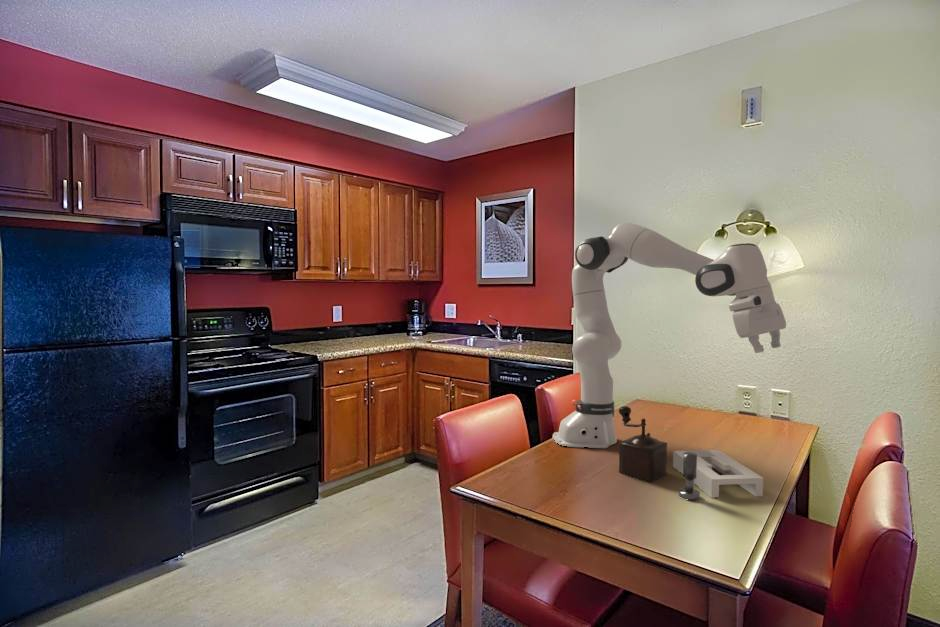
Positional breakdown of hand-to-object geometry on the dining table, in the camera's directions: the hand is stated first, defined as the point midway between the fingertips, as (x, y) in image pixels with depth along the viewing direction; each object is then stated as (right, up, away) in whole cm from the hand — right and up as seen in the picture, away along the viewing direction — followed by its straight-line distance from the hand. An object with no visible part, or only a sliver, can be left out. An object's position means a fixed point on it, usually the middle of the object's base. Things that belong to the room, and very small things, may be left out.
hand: (768, 349), depth 137 cm
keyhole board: (-11, -38, +8) cm, 40 cm away
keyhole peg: (-23, -39, -3) cm, 45 cm away
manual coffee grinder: (-31, -38, +15) cm, 51 cm away
